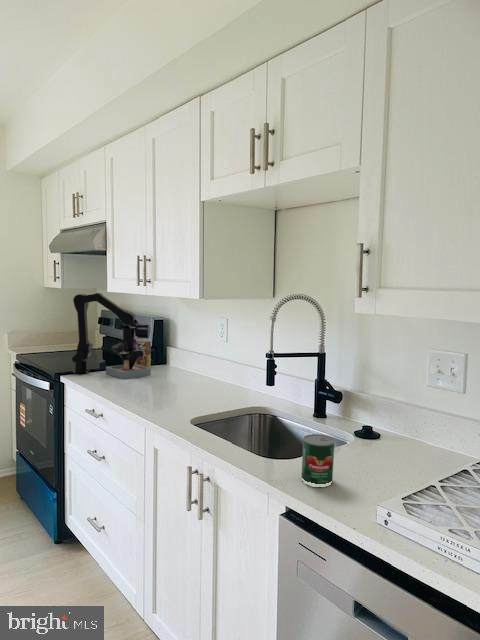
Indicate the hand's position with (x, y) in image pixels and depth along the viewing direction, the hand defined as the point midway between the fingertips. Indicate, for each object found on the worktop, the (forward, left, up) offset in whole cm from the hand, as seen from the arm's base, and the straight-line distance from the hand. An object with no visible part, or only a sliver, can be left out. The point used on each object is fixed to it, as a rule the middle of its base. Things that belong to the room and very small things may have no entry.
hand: (128, 368), depth 239 cm
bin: (0, 0, -3) cm, 3 cm away
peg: (0, 0, -3) cm, 3 cm away
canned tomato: (+138, -31, -3) cm, 141 cm away
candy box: (-10, +15, -3) cm, 18 cm away
